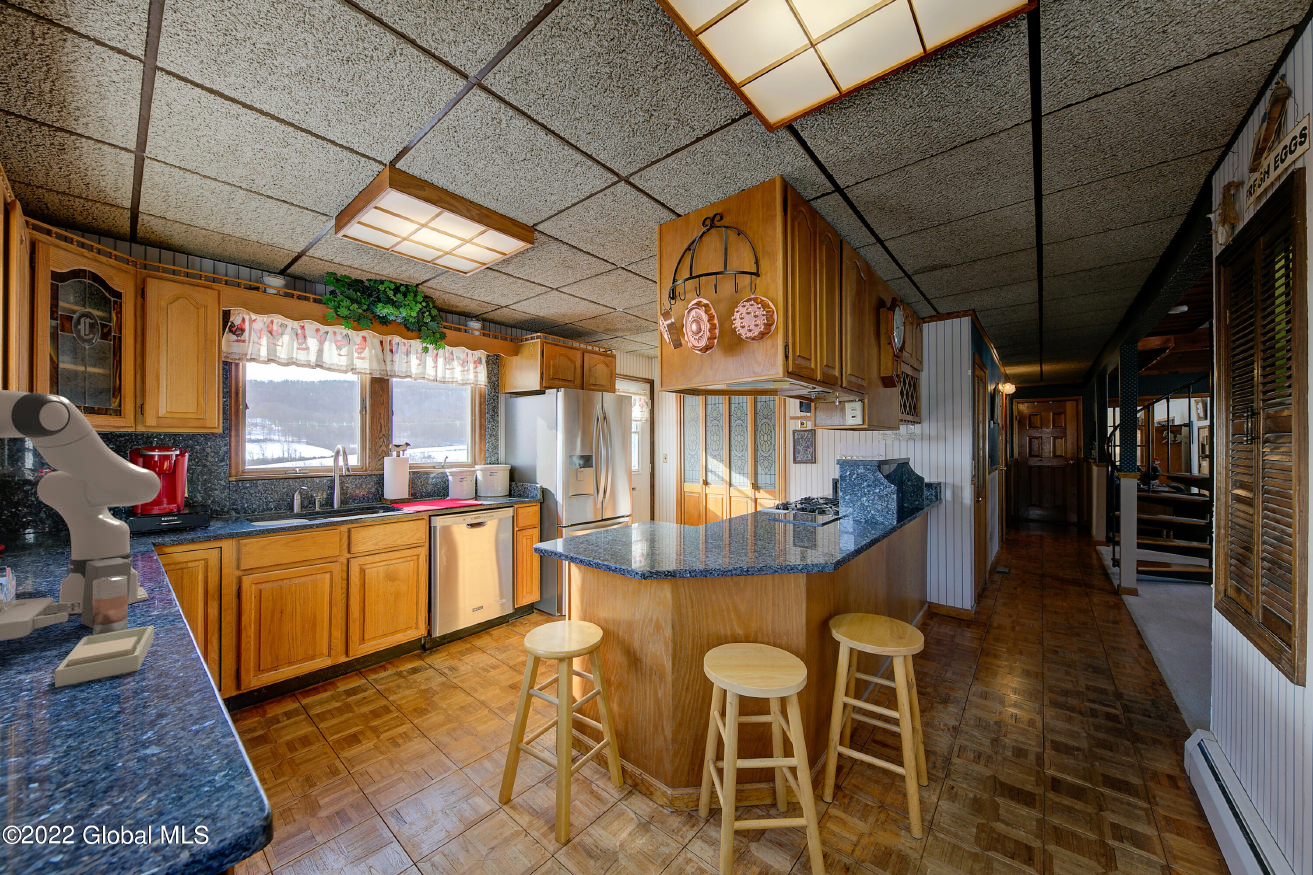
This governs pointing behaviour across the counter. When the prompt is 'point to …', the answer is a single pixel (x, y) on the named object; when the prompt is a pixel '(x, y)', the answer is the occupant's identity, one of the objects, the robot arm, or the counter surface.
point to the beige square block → (103, 651)
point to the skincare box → (97, 571)
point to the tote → (106, 667)
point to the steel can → (110, 604)
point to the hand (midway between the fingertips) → (74, 610)
